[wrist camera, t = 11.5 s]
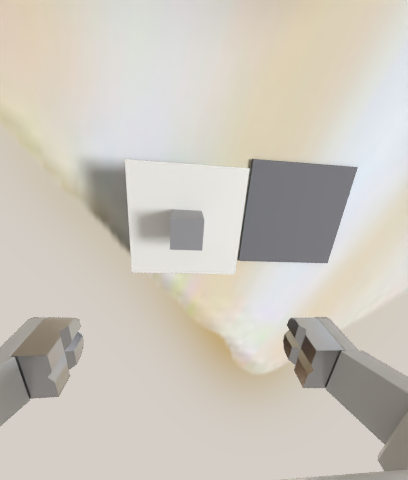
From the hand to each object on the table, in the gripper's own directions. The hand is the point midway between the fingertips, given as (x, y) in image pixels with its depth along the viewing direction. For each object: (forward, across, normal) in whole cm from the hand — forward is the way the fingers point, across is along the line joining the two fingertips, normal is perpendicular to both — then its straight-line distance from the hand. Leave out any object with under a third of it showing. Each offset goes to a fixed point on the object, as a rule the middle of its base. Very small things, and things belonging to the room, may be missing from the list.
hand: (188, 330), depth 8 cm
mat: (+21, -15, 0) cm, 26 cm away
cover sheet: (+16, 0, 0) cm, 16 cm away
